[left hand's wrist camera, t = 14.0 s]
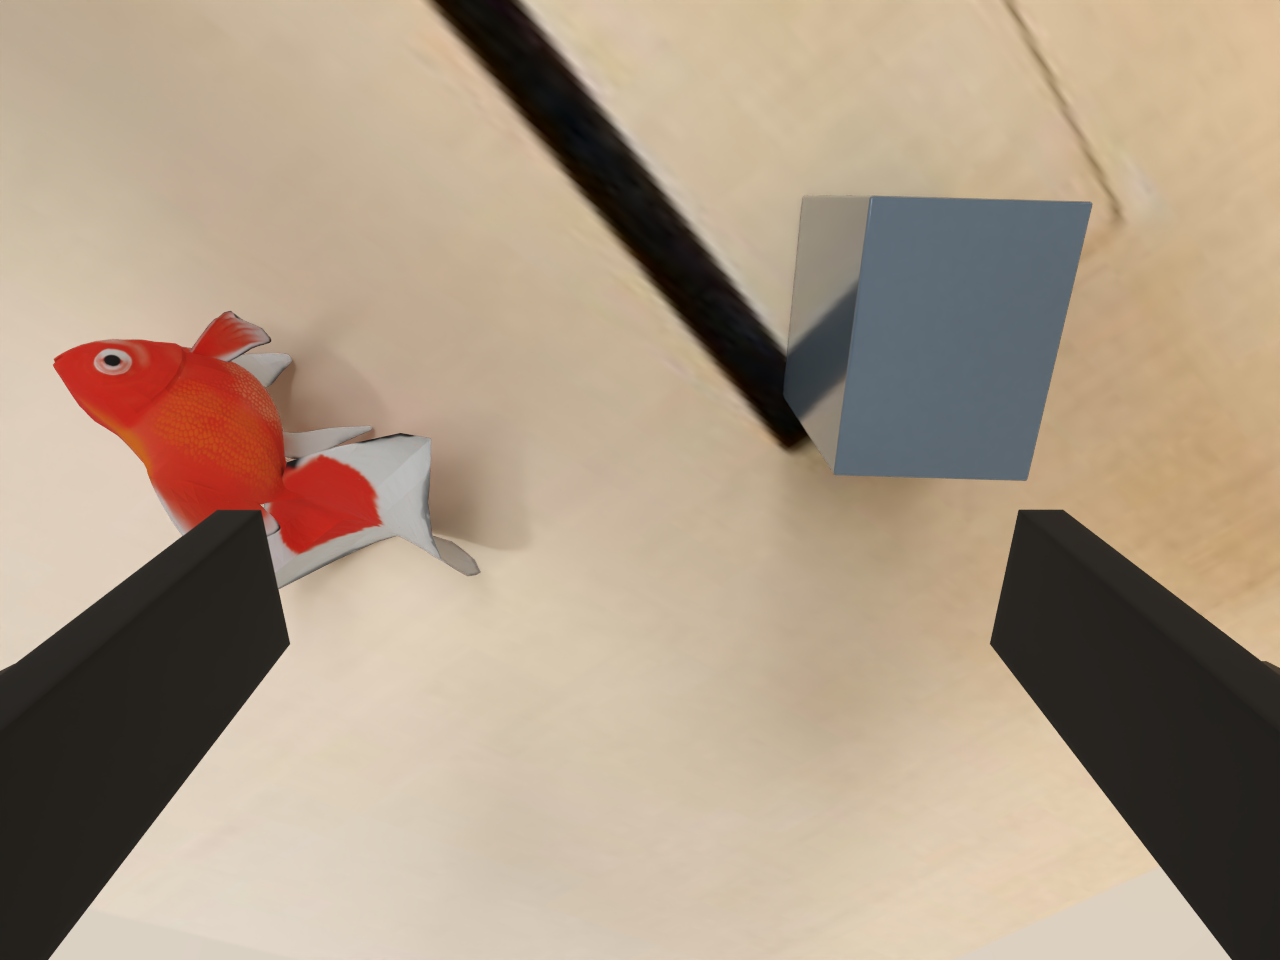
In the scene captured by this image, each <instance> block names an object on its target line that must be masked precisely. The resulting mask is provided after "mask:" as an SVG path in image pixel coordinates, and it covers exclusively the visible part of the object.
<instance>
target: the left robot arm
mask: <svg viewBox="0 0 1280 960" xmlns="http://www.w3.org/2000/svg"><path fill="white" fill-rule="evenodd" d="M289 645H290V642H289V637H288V632H287V628H286V623H285V618H284V614H283V609H282V604H281V600H280V595H279V590H278V586H277V581H276V576H275V572H274V567H273V562H272V558H271V553H270V548H269V544H268V539H267V534H266V530H265V525H264V520H263V516H262V511H261V510H216V511H215V512H214V513H212V514H211V515H210V516H208V517H207V518H206V519H204V520H203V521H202V522H200V523H199V524H198V525H197V526H195V527H194V528H193V529H191V530H190V531H189V532H187V533H186V534H185V535H183V536H182V537H181V538H180V539H178V540H177V541H176V542H174V543H173V544H172V545H170V546H169V547H168V548H166V549H165V550H164V551H162V552H161V553H160V554H159V555H157V556H156V557H155V558H153V559H152V560H151V561H149V562H148V563H147V564H145V565H144V566H143V567H142V568H140V569H139V570H138V571H136V572H135V573H134V574H132V575H131V576H130V577H128V578H127V579H126V580H124V581H123V582H122V583H121V584H119V585H118V586H117V587H115V588H114V589H113V590H111V591H110V592H109V593H107V594H106V595H105V596H104V597H102V598H101V599H100V600H98V601H97V602H96V603H94V604H93V605H92V606H90V607H89V608H88V609H86V610H85V611H84V612H83V613H81V614H80V615H79V616H77V617H76V618H75V619H73V620H72V621H71V622H69V623H68V624H67V625H66V626H64V627H63V628H62V629H60V630H59V631H58V632H56V633H55V634H54V635H52V636H51V637H50V638H49V639H47V640H46V641H45V642H43V643H42V644H41V645H39V646H38V647H37V648H35V649H34V650H33V651H31V652H30V653H29V654H28V655H26V656H25V657H24V658H22V659H21V660H20V661H18V662H17V663H16V664H13V665H11V666H9V667H7V668H5V669H3V670H1V671H0V960H48V959H49V958H50V957H51V955H52V954H53V953H54V951H55V950H56V949H57V947H58V946H59V945H60V943H61V942H62V941H63V940H64V938H65V937H66V936H67V934H68V933H69V932H70V930H71V929H72V928H73V927H74V925H75V924H76V923H77V921H78V920H79V919H80V917H81V916H82V915H83V914H84V912H85V911H86V910H87V908H88V907H89V906H90V904H91V903H92V902H93V900H94V899H95V898H96V897H97V895H98V894H99V893H100V891H101V890H102V889H103V887H104V886H105V885H106V883H107V882H108V881H109V880H110V878H111V877H112V876H113V874H114V873H115V872H116V870H117V869H118V868H119V867H120V865H121V864H122V863H123V861H124V860H125V859H126V857H127V856H128V855H129V853H130V852H131V851H132V850H133V848H134V847H135V846H136V844H137V843H138V842H139V840H140V839H141V838H142V836H143V835H144V834H145V833H146V831H147V830H148V829H149V827H150V826H151V825H152V823H153V822H154V821H155V820H156V818H157V817H158V816H159V814H160V813H161V812H162V810H163V809H164V808H165V806H166V805H167V804H168V803H169V801H170V800H171V799H172V797H173V796H174V795H175V793H176V792H177V791H178V789H179V788H180V787H181V786H182V784H183V783H184V782H185V780H186V779H187V778H188V776H189V775H190V774H191V773H192V771H193V770H194V769H195V767H196V766H197V765H198V763H199V762H200V761H201V759H202V758H203V757H204V756H205V754H206V753H207V752H208V750H209V749H210V748H211V746H212V745H213V744H214V742H215V741H216V740H217V739H218V737H219V736H220V735H221V733H222V732H223V731H224V729H225V728H226V727H227V726H228V724H229V723H230V722H231V720H232V719H233V718H234V716H235V715H236V714H237V712H238V711H239V710H240V709H241V707H242V706H243V705H244V703H245V702H246V701H247V699H248V698H249V697H250V695H251V694H252V693H253V692H254V690H255V689H256V688H257V686H258V685H259V684H260V682H261V681H262V680H263V679H264V677H265V676H266V675H267V673H268V672H269V671H270V669H271V668H272V667H273V665H274V664H275V663H276V662H277V660H278V659H279V658H280V656H281V655H282V654H283V652H284V651H285V650H286V648H287V647H288V646H289ZM990 645H991V646H992V647H993V648H994V650H995V651H996V652H997V654H998V655H999V656H1000V658H1001V659H1002V660H1003V662H1004V663H1005V664H1006V665H1007V667H1008V668H1009V669H1010V671H1011V672H1012V673H1013V675H1014V676H1015V677H1016V679H1017V680H1018V681H1019V682H1020V684H1021V685H1022V686H1023V688H1024V689H1025V690H1026V692H1027V693H1028V694H1029V695H1030V697H1031V698H1032V699H1033V701H1034V702H1035V703H1036V705H1037V706H1038V707H1039V709H1040V710H1041V711H1042V712H1043V714H1044V715H1045V716H1046V718H1047V719H1048V720H1049V722H1050V723H1051V724H1052V726H1053V727H1054V728H1055V729H1056V731H1057V732H1058V733H1059V735H1060V736H1061V737H1062V739H1063V740H1064V741H1065V742H1066V744H1067V745H1068V746H1069V748H1070V749H1071V750H1072V752H1073V753H1074V754H1075V756H1076V757H1077V758H1078V759H1079V761H1080V762H1081V763H1082V765H1083V766H1084V767H1085V769H1086V770H1087V771H1088V773H1089V774H1090V775H1091V776H1092V778H1093V779H1094V780H1095V782H1096V783H1097V784H1098V786H1099V787H1100V788H1101V789H1102V791H1103V792H1104V793H1105V795H1106V796H1107V797H1108V799H1109V800H1110V801H1111V803H1112V804H1113V805H1114V806H1115V808H1116V809H1117V810H1118V812H1119V813H1120V814H1121V816H1122V817H1123V818H1124V820H1125V821H1126V822H1127V823H1128V825H1129V826H1130V827H1131V829H1132V830H1133V831H1134V833H1135V834H1136V835H1137V836H1138V838H1139V839H1140V840H1141V842H1142V843H1143V844H1144V846H1145V847H1146V848H1147V850H1148V851H1149V852H1150V853H1151V855H1152V856H1153V857H1154V859H1155V860H1156V861H1157V863H1158V864H1159V865H1160V867H1161V868H1162V869H1163V870H1164V872H1165V873H1166V874H1167V876H1168V877H1169V878H1170V880H1171V881H1172V882H1173V883H1174V885H1175V886H1176V887H1177V889H1178V890H1179V891H1180V893H1181V894H1182V895H1183V896H1184V898H1185V899H1186V900H1187V902H1188V903H1189V904H1190V906H1191V907H1192V908H1193V910H1194V911H1195V912H1196V913H1197V915H1198V916H1199V917H1200V919H1201V920H1202V921H1203V923H1204V924H1205V925H1206V927H1207V928H1208V929H1209V930H1210V932H1211V933H1212V934H1213V936H1214V937H1215V938H1216V940H1217V941H1218V942H1219V944H1220V945H1221V946H1222V947H1223V949H1224V950H1225V951H1226V953H1227V954H1228V955H1229V956H1230V958H1231V959H1232V960H1280V668H1279V667H1277V666H1275V665H1273V664H1271V663H1269V662H1267V661H1260V660H1259V659H1258V658H1256V657H1255V656H1254V655H1252V654H1251V653H1250V652H1249V651H1247V650H1246V649H1245V648H1243V647H1242V646H1241V645H1239V644H1238V643H1237V642H1235V641H1234V640H1233V639H1231V638H1230V637H1229V636H1228V635H1226V634H1225V633H1224V632H1222V631H1221V630H1220V629H1218V628H1217V627H1216V626H1214V625H1213V624H1212V623H1211V622H1209V621H1208V620H1207V619H1205V618H1204V617H1203V616H1201V615H1200V614H1199V613H1197V612H1196V611H1195V610H1193V609H1192V608H1191V607H1190V606H1188V605H1187V604H1186V603H1184V602H1183V601H1182V600H1180V599H1179V598H1178V597H1176V596H1175V595H1174V594H1173V593H1171V592H1170V591H1169V590H1167V589H1166V588H1165V587H1163V586H1162V585H1161V584H1159V583H1158V582H1157V581H1156V580H1154V579H1153V578H1152V577H1150V576H1149V575H1148V574H1146V573H1145V572H1144V571H1142V570H1141V569H1140V568H1138V567H1137V566H1136V565H1135V564H1133V563H1132V562H1131V561H1129V560H1128V559H1127V558H1125V557H1124V556H1123V555H1121V554H1120V553H1119V552H1118V551H1116V550H1115V549H1114V548H1112V547H1111V546H1110V545H1108V544H1107V543H1106V542H1104V541H1103V540H1102V539H1100V538H1099V537H1098V536H1097V535H1095V534H1094V533H1093V532H1091V531H1090V530H1089V529H1087V528H1086V527H1085V526H1083V525H1082V524H1081V523H1080V522H1078V521H1077V520H1076V519H1074V518H1073V517H1072V516H1070V515H1069V514H1068V513H1066V512H1065V511H1064V510H1019V511H1018V516H1017V520H1016V525H1015V530H1014V534H1013V539H1012V544H1011V548H1010V553H1009V558H1008V562H1007V567H1006V572H1005V576H1004V581H1003V586H1002V590H1001V595H1000V600H999V604H998V609H997V614H996V618H995V623H994V628H993V632H992V637H991V641H990Z"/></svg>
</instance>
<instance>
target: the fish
mask: <svg viewBox="0 0 1280 960" xmlns="http://www.w3.org/2000/svg"><path fill="white" fill-rule="evenodd" d="M270 342H271V339H270V337H269V336H268V335H267V334H266V333H265V331H264V330H263V329H262V328H260V327H258V326H256V325H253V324H251V323H249V322H247V321H244V320H242V319H241V318H239V317H238V316H237V315H235V314H234V313H233V312H232V311H228V312H224V313H223V314H222V315H221V316H219V317H218V318H216V319H214V320H213V321H212V322H211V323H210V324H209V326H208V327H207V328H206V330H205V331H204V332H203V334H202V335H201V336H200V338H199V339H198V340H197V342H196V343H195V344H194V346H193V347H192V348H187V347H181V346H179V345H177V344H175V343H164V342H153V341H147V340H119V339H110V340H102V341H95V342H91V343H87V344H83V345H80V346H77V347H75V348H72V349H70V350H68V351H66V352H64V353H62V354H61V355H59V356H57V357H56V358H55V359H54V361H55V363H54V364H53V366H54V368H55V370H56V371H57V373H58V374H59V376H60V377H61V379H62V380H63V382H64V383H65V385H66V387H67V388H68V390H69V391H70V393H71V394H72V396H73V397H74V399H75V400H76V402H77V403H78V404H79V406H80V407H81V408H82V409H83V410H84V411H85V412H86V413H87V414H88V415H89V416H90V417H91V418H92V419H93V420H94V421H95V422H97V423H99V424H100V425H102V426H104V427H105V428H107V429H108V430H110V431H111V432H113V433H115V434H116V435H118V436H119V437H120V438H121V439H122V440H123V441H124V442H125V443H126V444H127V445H128V446H129V447H130V448H131V449H132V450H133V452H134V453H135V454H136V455H137V456H138V457H139V458H140V460H141V461H142V462H143V463H144V464H145V466H146V468H147V472H148V475H149V478H150V480H151V483H152V485H153V487H154V489H155V492H156V494H157V496H158V498H159V500H160V502H161V503H162V505H163V507H164V508H165V510H166V512H167V514H168V515H169V517H170V519H171V521H172V522H173V523H174V525H175V526H176V528H177V529H178V530H179V532H180V533H181V534H182V536H183V535H185V534H186V533H187V532H189V531H190V530H191V529H193V528H194V527H195V526H197V525H198V524H199V523H200V522H202V521H203V520H204V519H206V518H207V517H208V516H210V515H211V514H212V513H214V512H215V511H216V510H261V511H262V516H263V520H264V525H265V530H266V534H267V539H268V544H269V548H270V553H271V558H272V562H273V567H274V572H275V576H276V581H277V586H278V589H280V588H282V587H284V586H286V585H288V584H290V583H292V582H294V581H296V580H298V579H300V578H302V577H304V576H306V575H308V574H310V573H312V572H314V571H316V570H318V569H320V568H322V567H323V566H325V565H327V564H329V563H331V562H333V561H335V560H337V559H339V558H342V557H344V556H346V555H348V554H351V553H353V552H355V551H357V550H359V549H362V548H364V547H366V546H368V545H371V544H373V543H375V542H378V541H381V540H385V539H388V538H391V537H394V536H400V537H402V538H404V539H406V540H408V541H410V542H411V543H413V544H415V545H417V546H419V547H420V548H422V549H424V550H425V551H427V552H428V553H430V554H431V555H432V556H434V557H436V558H438V559H439V560H441V561H443V562H444V563H446V564H448V565H449V566H451V567H453V568H454V569H456V570H457V571H459V572H461V573H463V574H465V575H466V576H472V575H477V574H479V573H480V570H479V568H478V566H477V564H476V561H475V560H474V559H473V558H472V557H471V556H470V555H469V554H467V553H466V552H465V551H464V550H462V549H461V548H460V547H458V546H457V545H456V544H454V543H453V542H452V541H449V540H445V539H442V538H439V537H435V536H432V531H431V523H430V515H429V507H428V497H429V483H430V462H431V438H425V437H420V436H414V435H408V434H403V433H399V434H394V435H390V436H385V437H381V438H376V439H371V440H367V441H362V442H357V443H353V444H348V445H343V446H338V447H335V446H337V445H339V444H341V443H343V442H345V441H347V440H349V439H352V438H354V437H356V436H358V435H361V434H363V433H365V432H368V431H370V430H371V426H357V427H335V428H326V429H320V430H314V431H309V432H300V433H290V432H284V431H283V430H282V424H281V420H280V416H279V414H278V411H277V409H276V406H275V404H274V403H273V401H272V399H271V397H270V395H269V394H268V392H267V391H266V389H265V388H264V387H268V386H270V385H271V384H272V383H273V382H274V381H275V380H276V378H277V377H278V376H279V374H280V373H281V372H282V371H283V370H284V369H285V368H286V367H287V366H288V365H289V364H290V363H291V361H292V359H291V357H290V356H289V355H287V354H283V353H261V354H244V353H245V352H247V351H249V350H250V349H252V348H254V347H257V346H260V345H264V344H267V343H270ZM242 354H244V355H242ZM333 447H334V448H333ZM285 457H288V458H293V459H296V460H293V461H290V462H287V463H286V460H285ZM260 504H264V507H265V509H264V508H263V507H262V506H261V505H260Z"/></svg>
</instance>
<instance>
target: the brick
mask: <svg viewBox="0 0 1280 960" xmlns="http://www.w3.org/2000/svg"><path fill="white" fill-rule="evenodd" d="M1091 208H1092V203H1091V202H1084V201H1047V200H1011V199H974V198H937V197H901V196H803V200H802V210H801V220H800V230H799V240H798V250H797V260H796V270H795V280H794V290H793V300H792V310H791V320H790V330H789V340H788V350H787V360H786V370H785V380H784V390H783V397H784V398H785V400H786V401H787V403H788V404H789V406H790V407H791V409H792V411H793V412H794V414H795V415H796V417H797V418H798V420H799V421H800V423H801V424H802V426H803V427H804V429H805V431H806V432H807V434H808V435H809V437H810V438H811V440H812V441H813V443H814V444H815V446H816V448H817V449H818V451H819V452H820V454H821V455H822V457H823V458H824V460H825V461H826V463H827V464H828V466H829V468H830V469H831V471H832V472H833V474H834V475H847V476H881V477H915V478H948V479H982V480H1016V481H1026V480H1027V479H1028V474H1029V470H1030V466H1031V462H1032V457H1033V453H1034V449H1035V445H1036V440H1037V436H1038V432H1039V428H1040V424H1041V419H1042V415H1043V411H1044V407H1045V402H1046V398H1047V394H1048V390H1049V386H1050V381H1051V377H1052V373H1053V369H1054V364H1055V360H1056V356H1057V352H1058V348H1059V343H1060V339H1061V335H1062V331H1063V326H1064V322H1065V318H1066V314H1067V310H1068V305H1069V301H1070V297H1071V293H1072V288H1073V284H1074V280H1075V276H1076V272H1077V267H1078V263H1079V259H1080V255H1081V250H1082V246H1083V242H1084V238H1085V234H1086V229H1087V225H1088V221H1089V217H1090V212H1091Z"/></svg>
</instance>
